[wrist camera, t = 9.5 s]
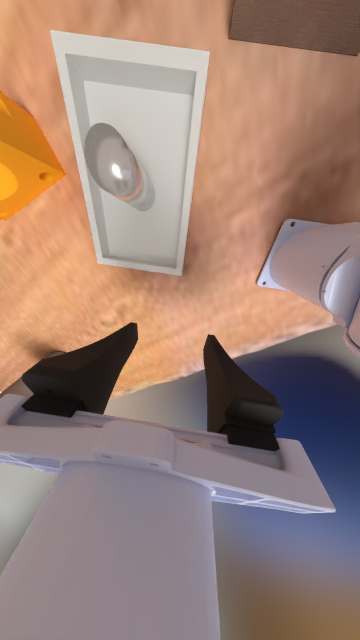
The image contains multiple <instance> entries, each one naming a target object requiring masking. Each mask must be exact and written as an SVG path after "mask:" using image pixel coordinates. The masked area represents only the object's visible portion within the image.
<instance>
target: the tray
mask: <svg viewBox="0 0 360 640" xmlns="http://www.w3.org/2000/svg"><path fill="white" fill-rule="evenodd" d="M50 32H51V37H52V42H53V47H54V52H55V57H56V62H57V66H58V71H59V76H60V81H61V86H62V91H63V96H64V100H65V105H66V110H67V115H68V120H69V125H70V130H71V134H72V139H73V144H74V149H75V154H76V159H77V164H78V169H79V173H80V178H81V183H82V188H83V193H84V198H85V203H86V207H87V212H88V217H89V222H90V227H91V232H92V237H93V241H94V246H95V251H96V256H97V261H98V263H99V264H105V265H112V266H118V267H125V268H131V269H138V270H145V271H151V272H158V273H164V274H171V275H178V276H182V273H183V266H184V258H185V250H186V243H187V235H188V227H189V220H190V212H191V205H192V197H193V189H194V182H195V174H196V166H197V159H198V151H199V143H200V136H201V128H202V120H203V113H204V105H205V97H206V90H207V79H208V68H209V56H210V51H203V50H196V49H188V48H181V47H173V46H166V45H159V44H151V43H144V42H136V41H129V40H121V39H114V38H106V37H99V36H92V35H84V34H77V33H69V32H62V31H54V30H50ZM97 123H106V124H109V125H111V126H112V127H114V128H115V129H116V130H117V131H118V132H119V133H120V134H121V136H122V137H123V139H124V140H125V142H126V143H127V145H128V146H129V148H130V149H131V151H132V153H133V154H134V156H135V157H136V159H137V160H138V162H139V163H140V165H141V166H142V168H143V169H144V171H145V172H146V174H147V176H148V177H149V179H150V180H151V182H152V184H153V186H154V190H155V199H154V203H153V205H152V207H151V208H150V209H149V210H147V211H139V210H137V209H136V208H134V207H132V206H130V205H129V204H127V203H125V202H124V201H122V200H120V199H118V198H117V197H115V196H113V195H111V194H110V193H108V192H106V191H105V190H103V189H102V188H101V187H100V186H99V185H98V184H97V183H96V182H95V180H94V179H93V177H92V176H91V174H90V172H89V169H88V167H87V163H86V159H85V152H84V145H85V138H86V135H87V133H88V131H89V129H90V128H91V127H92V126H93V125H95V124H97Z"/></svg>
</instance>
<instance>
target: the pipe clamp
mask: <svg viewBox="0 0 360 640" xmlns="http://www.w3.org/2000/svg"><path fill="white" fill-rule="evenodd" d="M65 175H66V174H65V172H64V170H63V168H62V167H61V165H60V163H59V161H58V159H57V158H56V156H55V154H54V152H53V151H52V149H51V147H50V145H49V144H48V142H47V140H46V138H45V137H44V135H43V133H42V131H41V129H40V128H39V126H38V124H37V122H36V121H35V119H34V117H33V116H32V115H30V114H29V113H28V112H26V111H25V110H24V109H23V108H21V107H20V106H19V105H17V104H16V103H15V102H14V101H12V100H11V99H10V98H8V97H7V96H6V95H4V94H3V93H2V92H1V91H0V220H8V219H9V218H10V217H11V216H13V215H14V214H15V213H17V212H18V211H19V210H21V209H22V208H23V207H25V206H26V205H27V204H28V203H30V202H31V201H32V200H34V199H35V198H36V197H38V196H39V195H40V194H42V193H43V192H44V191H45V190H47V189H48V188H49V187H51V186H52V185H53V184H55V183H56V182H57V181H59V180H60V179H61V178H63V177H64V176H65Z"/></svg>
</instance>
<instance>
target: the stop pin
mask: <svg viewBox="0 0 360 640" xmlns="http://www.w3.org/2000/svg"><path fill="white" fill-rule="evenodd" d="M84 152H85V159H86V163H87V167H88V169H89V172H90V174H91V176H92V177H93V179H94V180H95V182H96V183H97V184H98V185H99V186H100V187H101V188H102V189H103V190H105V191H106V192H108V193H110V194H111V195H113V196H115V197H117V198H118V199H120V200H122V201H124V202H125V203H127V204H129V205H130V206H132V207H134V208H136V209H137V210H139V211H147V210H149V209H150V208H151V207H152V205H153V203H154V199H155V190H154V186H153V184H152V182H151V180H150V179H149V177H148V176H147V174H146V172H145V171H144V169H143V168H142V166H141V165H140V163H139V162H138V160H137V159H136V157H135V156H134V154H133V153H132V151H131V149H130V148H129V146H128V145H127V143H126V142H125V140H124V139H123V137H122V136H121V134H120V133H119V132H118V131H117V130H116V129H115V128H114V127H112V126H111V125H109V124H106V123H97V124H95V125H93V126H92V127H91V128H90V129H89V131H88V133H87V135H86V138H85V145H84Z"/></svg>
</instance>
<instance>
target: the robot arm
mask: <svg viewBox="0 0 360 640" xmlns="http://www.w3.org/2000/svg"><path fill="white" fill-rule="evenodd" d="M292 222H293V226H292V227H291V226H290V225H291V223H292ZM263 282H265V284H263ZM257 285H258V286H262V287H269V288H275V289H282V290H288V291H291V292H292V293H294V294H296V295H298V296H300V297H302V298H304V299H306V300H308V301H310V302H312V303H314V304H316V305H318V306H320V307H321V308H323V309H325V310H327V311H329V312H330V313H332V315H333V321H334V322H336V323H338V324H339V325H341V326H343V327H345V328H347V329H346V331H345V333H344V341H345V343H346V345H347V347H348V348H349V349H350V350H351V351H352V352H353V353H355V354H356V355H357V356H358V357H360V221H359V222H350V223H342V224H334V225H332V224H325V223H318V222H311V221H304V220H297V219H287V220H285V221H284V223H283V224H282V227H281V229H280V231H279V233H278V236H277V238H276V240H275V242H274V244H273V247H272V249H271V251H270V253H269V256H268V258H267V260H266V262H265V264H264V267H263V269H262V271H261V273H260V276H259V278H258V280H257ZM137 340H138V330H137V323H132V322H131V323H129V324H128V325H126V326H124V327H123V328H121V329H119V330H118V331H116V332H114V333H113V334H111V335H109V336H107V337H105V338H103V339H101V340H99V341H97V342H95V343H93V344H90V345H88V346H85V347H83V348H80V349H77V350H74V351H71V352H68V353H65V354H61V355H57V356H53V357H49V358H45V359H42V360H41V361H39V362H38V363H37V364H35V365H34V366H33V367H32V368H30V369H29V370H28V371H26V372H25V373H24V374H23V375H22V381H23V383H24V384H25V385H26V386H27V387H28V388H29V389H30V390H31V391H32V392H33V393H34V394H33V395H32V396H31V397H30V398H27V397H25V396H20V395H14V394H6V395H4V396H3V397H2V398H1V399H0V463H5V464H10V465H15V466H20V467H25V468H30V469H35V470H40V471H44V472H50V473H54V474H59V475H58V477H57V479H56V480H55V482H54V484H53V486H52V487H51V489H50V491H49V492H48V494H47V496H46V498H45V499H44V501H43V503H42V505H41V506H40V508H39V510H38V512H37V513H36V515H35V517H34V518H33V520H32V522H31V524H30V526H29V527H28V529H27V531H26V532H25V534H24V536H23V538H22V539H21V541H20V543H19V544H18V546H17V548H16V550H15V551H14V553H13V555H12V557H11V559H10V560H9V562H8V564H7V565H6V567H5V569H4V571H3V572H2V574H1V576H0V640H220V627H219V626H220V625H219V611H218V596H217V581H216V566H215V552H214V538H213V522H212V507H211V501H218V502H226V503H234V504H242V505H250V506H258V507H265V508H272V509H279V510H285V511H292V512H298V513H323V512H335V510H336V509H335V508H334V506H333V504H332V502H331V500H330V498H329V496H328V494H327V492H326V491H325V489H324V487H323V485H322V483H321V481H320V479H319V477H318V475H317V474H316V472H315V470H314V468H313V466H312V464H311V462H310V460H309V458H308V457H307V455H306V453H305V451H304V449H303V447H302V445H301V443H300V442H299V441H296V440H290V439H284V438H277V439H276V437H275V435H274V433H275V428H274V426H273V424H275V423H276V422H277V421H278V420H280V419H281V418H282V417H283V414H284V412H283V410H282V408H281V406H280V404H279V402H278V400H277V399H276V397H275V396H274V395H272V394H271V393H270V392H268V391H267V390H266V389H264V388H263V387H261V386H260V385H259V384H257V383H256V382H255V381H254V380H252V379H251V378H250V377H249V376H248V375H247V374H246V373H245V372H243V371H242V370H241V369H240V368H239V367H238V366H237V365H236V364H235V362H234V361H233V360H232V359H231V358H230V357H229V355H228V354H227V353H226V352H225V350H224V349H223V348H222V346H221V345H220V343H219V342H218V340H217V339H216V337H215V336H214V335H209V334H208V336H207V339H206V343H205V346H204V349H203V356H204V366H205V373H206V381H207V405H208V409H207V415H208V416H207V432H206V431H200V430H193V429H188V428H182V427H176V426H169V425H163V424H157V423H151V422H145V421H138V420H133V419H126V418H120V417H114V416H108V415H103V414H104V411H105V408H106V406H107V403H108V400H109V398H110V395H111V393H112V390H113V388H114V386H115V383H116V381H117V379H118V377H119V374H120V372H121V370H122V368H123V366H124V365H125V363H126V361H127V360H128V358H129V356H130V354H131V353H132V351H133V349H134V347H135V345H136V343H137Z"/></svg>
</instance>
